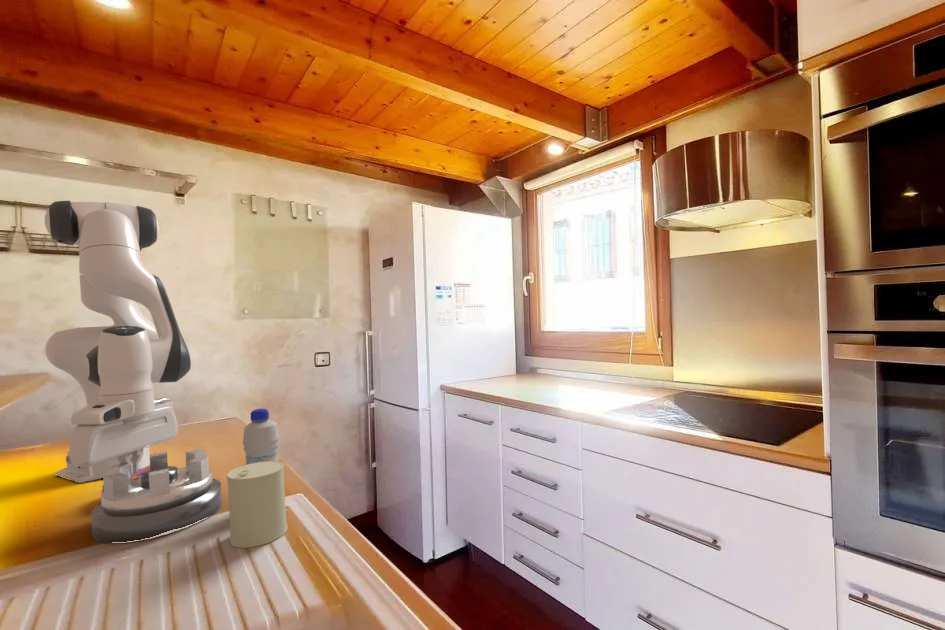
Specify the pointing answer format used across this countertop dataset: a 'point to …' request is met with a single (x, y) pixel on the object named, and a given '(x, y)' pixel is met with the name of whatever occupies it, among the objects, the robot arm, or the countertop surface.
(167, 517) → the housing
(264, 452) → the bottle
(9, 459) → the countertop surface
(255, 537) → the can
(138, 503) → the toothed metal gear
